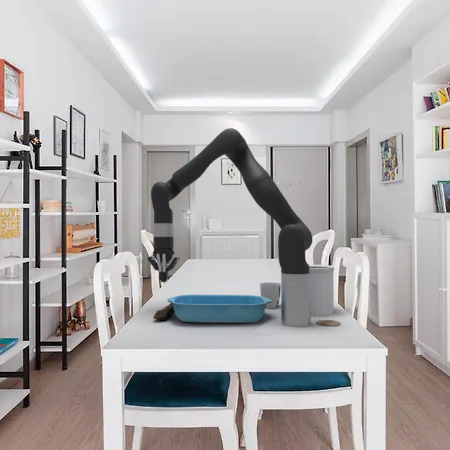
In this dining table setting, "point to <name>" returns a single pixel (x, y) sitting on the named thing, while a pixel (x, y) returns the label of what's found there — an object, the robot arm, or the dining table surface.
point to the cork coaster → (328, 323)
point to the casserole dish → (219, 308)
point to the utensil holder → (321, 289)
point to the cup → (271, 293)
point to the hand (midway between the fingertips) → (163, 281)
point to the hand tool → (164, 312)
